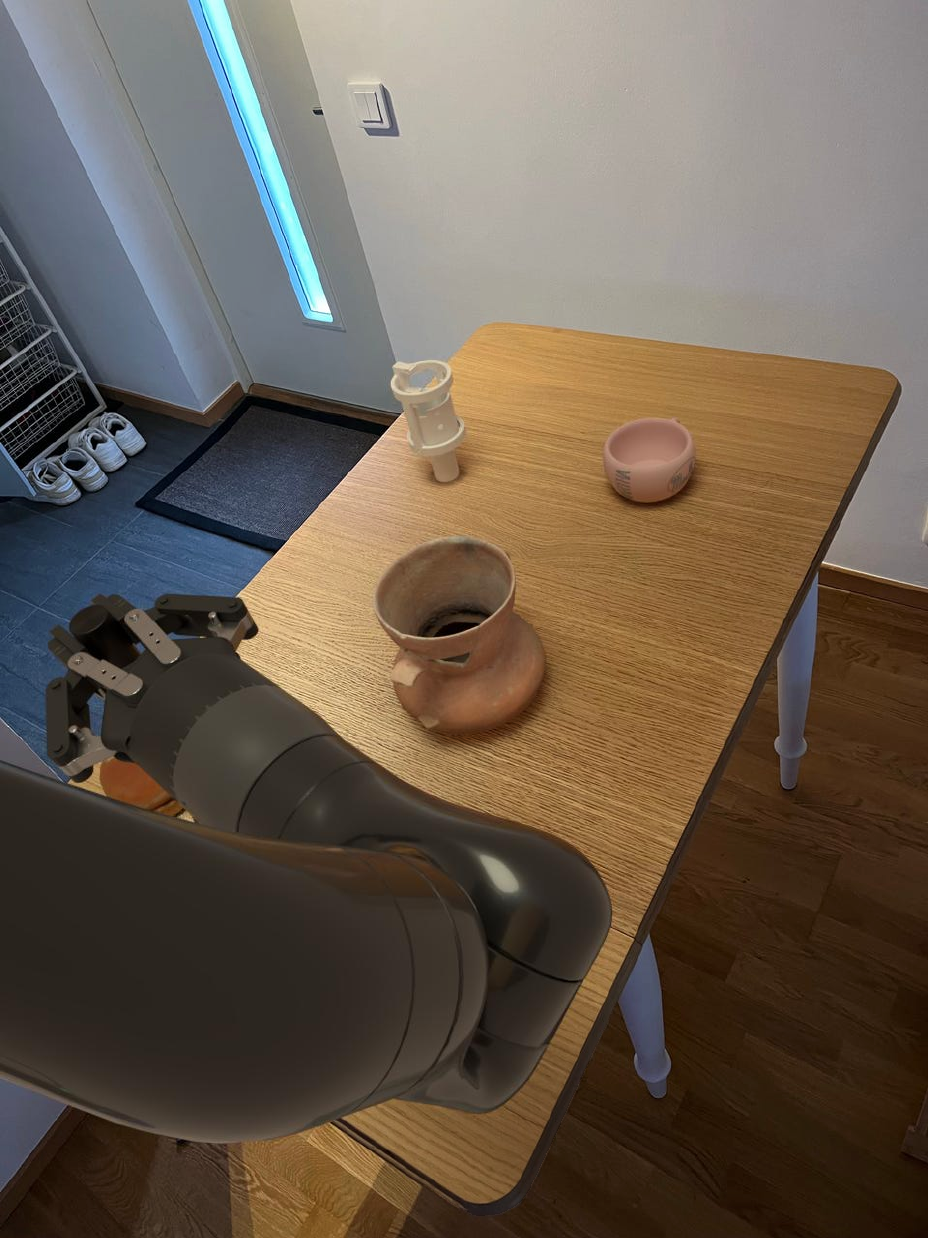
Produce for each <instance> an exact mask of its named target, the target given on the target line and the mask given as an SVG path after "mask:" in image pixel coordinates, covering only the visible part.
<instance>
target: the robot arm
mask: <svg viewBox="0 0 928 1238" xmlns="http://www.w3.org/2000/svg"><path fill="white" fill-rule="evenodd" d="M90 603H91V605H95V604H100V605H103V606H105V607H106V608H107V609H108V610H109V611H110V613H111V614H112V615H113V617H114V618H115V619H116V621H117V622H118V623H119V625H120V626H121V627H122V629H123V630H124V631H125V633H126V634H127V635H128V637H129V638H130V639H131V641H132V642H133V643H134V645H135V646H137V645H139V643H140V644H141V646H142V647H143V649H144V650H143V651H142V652H141V655H140V656H139V657H138V658H137V659H136V660H135V661H134V662H133V663H131V664H129V665H127V666H126V667H124V668H122V669H120V668H118V667H116V666H114V665H112V664H111V663H109V662H107V661H105V660H103V659H102V660H101V661H100V660H98V659H96V658H95V657H93V656H92V654H91V653H90V652H89V651H88V649H87V648H86V647H85V646H84V645H83V644H81V643H79V642H78V641H77V640H76V638H75V637H74V636H73V635H72V634H71V632H70V631H68V630H66V629H65V628H64V627H63V626H62V625H60V624H57V625H55V626H54V627H53V628H51V629H50V630H49V631H48V633H49V635H50V636H51V637H52V638H51V640H49V641H47V649H48V650H49V651H50V652H51V653H52V655H54V657H55V658H56V659H57V660H58V662H60V664H61V665H63V666H64V667H65V668H66V669H67V672H66V674H65V675H64V676H59V677H55V678H53V679H51V680H50V681H49V683H48V684H47V685H46V687H45V722H46V724H45V725H46V726H45V727H46V756H47V757H48V759H50V760H51V761H52V762H53V763H54V764H55V765H56V767H57V768H58V769H59V770H60V771H62V773H64V774H65V776H67V777H68V778H69V779H70V780H71V781H72V782H73V783H76V784H81V783H84V782H86V781H87V780H89V779H90V778H91V777H92V775H93V774H94V769H95V768H94V765H97V764H99V763H102V761H104V760H106V759H108V758H111V757H113V756H114V757H115V758H116V759H117V760H119V761H122V762H129V763H134V764H137V765H138V766H139V767H140V768H141V769H142V770H144V771H145V772H146V773H147V774H148V775H149V776H150V777H151V778H152V779H153V780H154V781H155V782H156V783H157V784H158V785H160V786H161V787H162V788H163V789H164V790H165V791H166V792H167V793H168V794H169V795H170V796H171V797H172V798H173V799H174V800H175V801H176V802H177V803H179V804H180V805H181V806H182V807H183V809H184V810H185V811H186V812H187V814H189V815H190V816H191V819H192V820H188V819H184V818H180V817H175V816H169V815H166V814H162V813H158V812H154V811H151V810H147V809H144V808H141V807H138V806H135V805H132V804H129V803H126V802H122V801H119V800H116V799H113V798H110V797H107V796H106V795H105V794H101V793H98V792H95V791H92V790H90V789H86V788H83V787H81V786H77V785H74V784H72V783H68V782H65V781H62V780H59V779H56V778H53V777H50V776H47V775H45V774H41V773H40V772H39V773H38V772H35V771H32V770H30V769H27V768H24V767H22V766H21V767H20V766H18V765H15V764H12V763H10V762H7V761H4V760H1V759H0V1079H2V1080H4V1081H7V1082H10V1083H12V1084H15V1085H17V1086H20V1087H22V1088H25V1089H27V1090H30V1091H33V1092H35V1093H38V1094H40V1095H42V1096H45V1097H48V1098H50V1099H52V1100H54V1101H57V1102H59V1103H62V1104H64V1105H68V1106H70V1107H73V1108H75V1109H78V1110H80V1111H83V1112H86V1113H88V1114H91V1115H93V1116H96V1117H99V1118H101V1119H104V1120H107V1121H109V1122H112V1123H114V1124H117V1125H121V1126H125V1127H127V1128H131V1129H134V1130H138V1131H142V1132H146V1133H149V1134H155V1135H160V1136H165V1137H170V1138H174V1139H180V1140H185V1141H189V1142H196V1143H209V1144H221V1145H222V1144H235V1143H236V1144H237V1143H249V1142H250V1143H253V1142H263V1141H265V1142H266V1141H273V1140H277V1139H282V1138H286V1137H290V1136H294V1135H295V1136H296V1135H299V1134H300V1133H303V1132H307V1131H309V1130H312V1129H315V1128H318V1127H321V1126H324V1125H327V1124H330V1123H331V1122H334V1121H337V1120H340V1119H343V1118H345V1117H348V1116H350V1115H353V1114H356V1113H359V1112H362V1111H364V1110H367V1109H370V1108H372V1107H375V1106H377V1105H381V1104H383V1103H384V1104H385V1103H386V1102H389V1101H391V1100H397V1101H402V1102H408V1103H414V1104H422V1105H430V1106H435V1107H440V1108H444V1109H447V1110H451V1111H454V1112H457V1113H462V1114H465V1115H474V1116H475V1115H477V1116H481V1115H485V1114H489V1113H492V1112H494V1111H496V1110H498V1109H499V1108H501V1107H502V1106H504V1105H505V1104H507V1102H509V1101H510V1100H511V1099H513V1097H514V1096H515V1095H517V1093H519V1092H520V1090H521V1089H522V1088H524V1086H525V1085H526V1084H527V1082H528V1081H529V1080H530V1078H531V1077H532V1075H533V1074H534V1072H535V1071H536V1069H537V1067H539V1064H540V1062H541V1060H542V1059H543V1057H544V1055H545V1053H546V1051H547V1050H548V1048H549V1046H550V1044H551V1042H552V1040H553V1038H554V1036H555V1035H556V1033H557V1031H558V1029H559V1027H560V1025H561V1023H562V1022H563V1021H564V1018H565V1016H566V1014H567V1012H568V1010H569V1009H570V1007H571V1006H572V1003H573V1002H574V999H575V998H576V996H577V994H578V992H579V990H580V989H581V987H582V984H583V982H584V980H585V979H586V977H587V976H588V974H589V972H590V970H591V969H592V967H593V965H594V963H595V962H596V960H597V958H598V956H599V954H600V952H601V950H602V949H603V946H604V945H605V942H606V941H607V938H608V936H609V932H610V930H611V927H612V921H613V906H612V899H611V896H610V894H609V890H608V888H607V885H606V883H605V881H604V879H603V878H602V876H601V874H600V872H599V871H598V869H597V868H596V867H595V865H594V864H593V862H592V861H591V860H590V859H589V858H588V856H586V855H585V854H584V853H583V852H582V851H581V850H579V848H577V847H576V846H575V845H573V844H572V843H570V842H568V841H567V840H565V839H564V838H562V837H560V836H557V835H556V834H554V833H551V832H548V831H546V830H543V829H540V828H538V827H534V826H532V825H529V824H525V823H522V822H519V821H516V820H512V819H508V818H504V817H500V816H497V815H494V814H490V813H488V812H483V811H480V810H476V809H473V808H468V807H466V806H463V805H460V804H457V803H454V802H451V801H449V800H446V799H443V798H441V797H438V796H435V795H434V794H431V793H430V792H427V791H425V790H423V789H421V788H419V787H416V786H414V785H413V784H411V783H409V782H407V781H405V780H404V779H402V778H401V777H399V776H397V775H396V774H394V773H393V772H391V770H389V769H387V768H386V767H385V766H382V765H381V764H380V763H379V762H377V761H376V760H374V759H373V758H372V757H370V756H369V755H367V754H366V753H364V752H363V751H362V750H360V749H359V748H357V747H356V746H355V745H353V744H352V743H351V742H349V741H348V740H347V739H345V738H344V737H342V736H341V735H340V734H339V732H337V731H336V730H335V729H334V728H333V727H332V726H331V725H330V723H328V722H327V721H326V720H325V719H324V718H323V717H322V716H321V715H319V714H318V713H317V712H315V711H314V710H313V709H311V708H310V707H309V706H307V704H304V703H303V702H302V701H300V700H299V699H297V698H296V697H295V696H293V694H291V693H289V692H288V691H286V690H285V689H284V688H282V687H281V686H279V685H278V684H276V683H275V682H274V681H272V680H271V679H269V678H268V677H266V676H265V675H263V674H262V673H260V672H259V671H258V670H257V669H255V668H253V667H252V666H250V664H248V663H247V662H246V661H244V660H243V659H242V657H241V655H240V654H239V653H238V652H237V650H238V649H239V647H240V645H241V643H242V642H243V641H248V640H249V641H250V640H252V639H253V638H256V636H257V635H258V633H259V630H260V629H259V626H258V625H257V623H256V621H255V619H254V618H253V616H252V614H251V613H250V611H249V609H248V607H247V606H246V604H245V602H244V600H243V599H242V598H241V597H237V596H220V595H219V596H217V595H201V594H199V595H198V594H184V593H183V594H180V593H165V594H162V595H160V596H158V597H157V598H156V599H155V601H154V605H153V607H151V608H148V609H142V608H137V607H136V606H134V605H133V604H132V603H131V602H129V601H128V600H126V599H125V598H123V597H122V596H121V595H120V594H116V593H115V594H114V593H111V594H110V595H109V596H107V597H106V596H105V595H104V594H102V593H101V592H100V593H98V594H96V595H95V596H93V598H91V599H90ZM170 634H173V635H176V636H182V637H183V636H184V637H189V638H174V639H171V638H170V637H169V635H170ZM93 696H96V697H97V698H99V699H100V700H102V701H104V703H103V712H102V720H101V730H100V735H96V734H95V733H94V732H93V731H92V727H91V725H92V724H91V712H90V704H89V703H88V702H89V701H90V699H91V698H92V697H93Z"/></svg>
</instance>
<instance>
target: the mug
mask: <svg viewBox="0 0 928 1238" xmlns="http://www.w3.org/2000/svg"><path fill="white" fill-rule="evenodd" d="M696 453H697V452H696V444H695V441H694V436H693V435H692V433H691V431H690V430H689V429H688V428H687V427H685V425H683V424H682V423H681V421H680V419H679V418H678V417H672V418H670V419H669V418H664V417H642V418H638V419H634V420H631V421H628V422H626V423H624V424H622V425H620V426H619V427H617V428H616V429H615V430H613V431H612V432H611V433H610V434H609V436H608V437H607V438H606V441H605V442H604V445H603V450H602V463H603V471H604V473H605V476H606V478H607V480H608V481H609V483H610V484H611V486H612V487H613V489H614V490H615V491H616V492H617V493H618V494H619V495H621V496H622V497H623V498H626V499H628V500H630V501H633V502H638V503H656V502H661V501H664V500H667V499H669V498H671V497H674V495H676V494H677V493H678V492H680V491H681V490H682V489H683V488H684V487H685V485H687V483H688V481H689V479H690V477H691V475H692V474H693V470H694V467H695V464H696Z"/></svg>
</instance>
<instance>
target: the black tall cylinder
mask: <svg viewBox="0 0 928 1238" xmlns="http://www.w3.org/2000/svg"><path fill="white" fill-rule="evenodd" d="M68 630H69V631H68V632H69V633H70V634H71V635H72V636H73V637H74V638H76V640H77V641H78V642H79V643H81V644H83V645H84V646H85V647H86V648H87V649H88V651H89V652H90V653H91V654H92V656H93V657H95V658H96V659H98V660H100V661H101V660H102V659H103V660H105V661H107V662H109V663H111V664H112V665H114V666H116V667H118V668H120V669H122V668H124V667H126V666H127V665H129V664H131V663H133V662H134V661H135V660H136V659H137V658H138V657H139V656H140V655H141V653H142V652H141V651H140V649H139V648H138V647H137V645H135V644H134V643H133V642H132V641H131V639H130V638H129V637H128V635H127V634H126V633H125V631H124V630H123V629H122V627H121V626H120V625H119V623H118V622H117V621H116V619H115V618H114V617H113V615H112V614H111V613H110V611H109V610H108V609H107V608H106V607H105V606H103V605H100V604H95V605H93V604H91V605H88V606H86V607H83V608H82V609H80V610H78V612H76V613H75V614H74V615H73V616H72V618H71V619H70V621H69V624H68Z"/></svg>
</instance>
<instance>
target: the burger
mask: <svg viewBox="0 0 928 1238" xmlns="http://www.w3.org/2000/svg"><path fill="white" fill-rule="evenodd" d="M100 763H101V764H100V766H99V782H100V786H101V788H102V790H103V793H104V795H105V796H107V797H110V798H113V799H116V800H119V801H122V802H126V803H129V804H132V805H135V806H138V807H141V808H144V809H147V810H151V811H154V812H158V813H162V814H166V815H169V816H173V817H175V816H176V815H177V814H178V813H180V812H181V811H182V810H183V809H184V808H183V807H182V806H181V805H180V804H179V803H177V802H176V801H175V800H174V799H173V798H172V797H171V796H170V795H169V794H168V793H167V792H166V791H165V790H164V789H163V788H162V787H161V786H160V785H158V784H157V783H156V782H155V781H154V780H153V779H152V778H151V777H150V776H149V775H148V774H147V773H146V772H145V771H144V770H142V769H141V768H140V767H139V766H138V765H137V764H134V763H129V762H122V761H119V760H117V759H116V758H115V757H114V756H113V757H111V758H108V759H106V760H104V761H102V762H100Z"/></svg>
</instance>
